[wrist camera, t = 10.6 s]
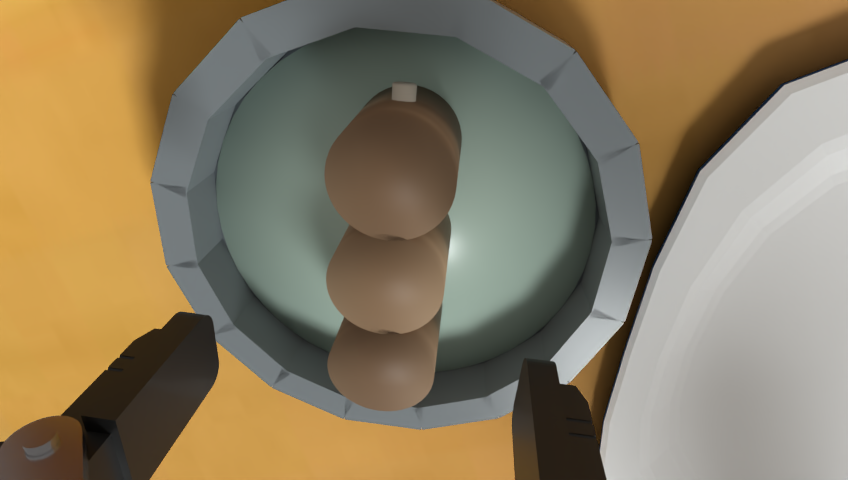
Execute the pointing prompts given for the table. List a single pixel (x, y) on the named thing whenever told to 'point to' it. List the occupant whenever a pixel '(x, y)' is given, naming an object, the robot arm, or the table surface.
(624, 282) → the round tray
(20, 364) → the table surface
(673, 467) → the plate
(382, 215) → the bead string
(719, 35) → the table surface
